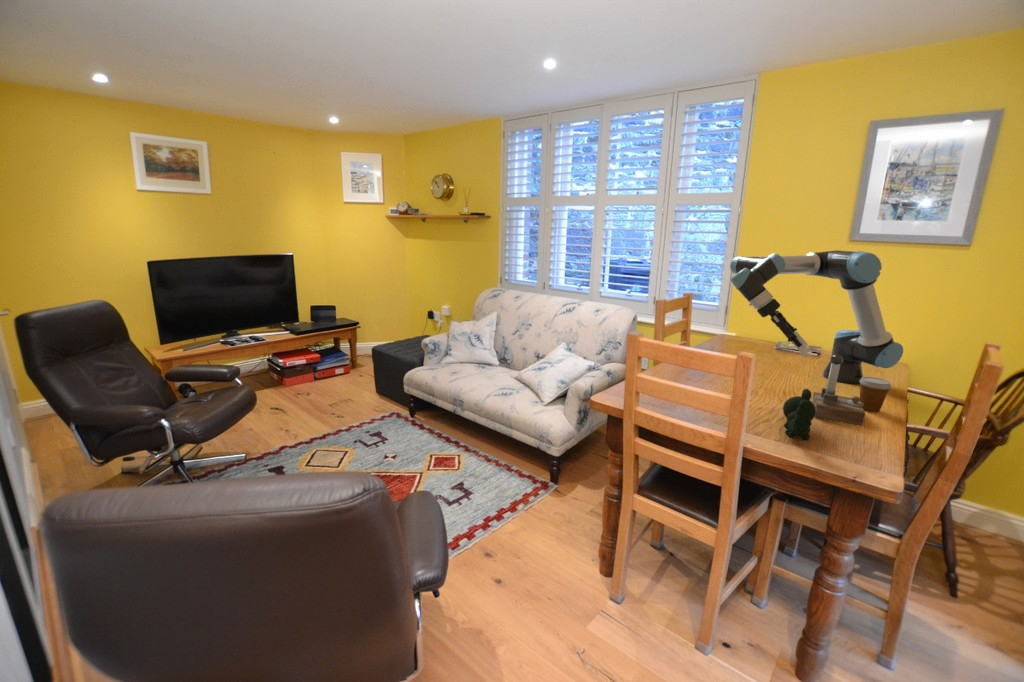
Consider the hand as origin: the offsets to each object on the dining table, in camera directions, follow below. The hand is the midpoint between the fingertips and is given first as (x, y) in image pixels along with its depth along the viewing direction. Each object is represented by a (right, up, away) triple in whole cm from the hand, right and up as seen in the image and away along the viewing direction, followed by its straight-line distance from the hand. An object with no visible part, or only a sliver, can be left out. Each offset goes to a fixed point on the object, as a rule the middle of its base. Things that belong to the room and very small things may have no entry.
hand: (805, 349), depth 168 cm
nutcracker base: (+11, -24, -1) cm, 27 cm away
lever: (+8, -17, -1) cm, 19 cm away
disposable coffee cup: (+28, -24, +5) cm, 37 cm away
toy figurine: (-14, -28, -17) cm, 35 cm away
